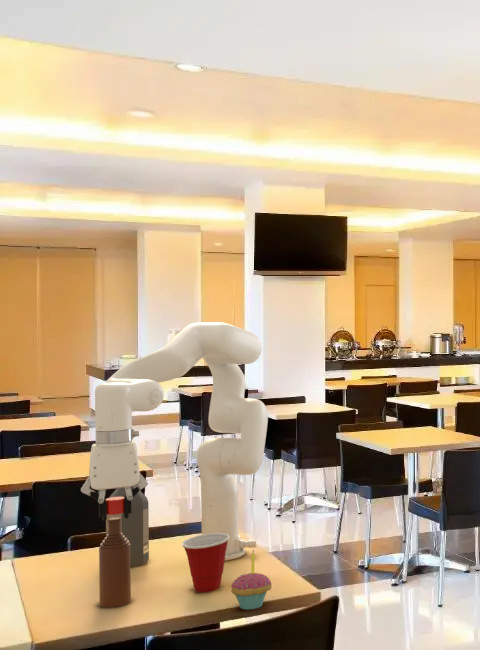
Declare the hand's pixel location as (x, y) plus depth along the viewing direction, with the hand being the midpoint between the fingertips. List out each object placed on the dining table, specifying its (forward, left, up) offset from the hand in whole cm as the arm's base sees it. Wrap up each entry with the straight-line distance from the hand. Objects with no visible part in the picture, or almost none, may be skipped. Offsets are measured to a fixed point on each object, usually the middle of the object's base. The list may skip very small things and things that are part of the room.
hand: (115, 517), depth 197 cm
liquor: (+3, -33, -19) cm, 38 cm away
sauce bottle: (0, 0, -19) cm, 19 cm away
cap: (0, 0, +1) cm, 1 cm away
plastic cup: (-19, -5, -19) cm, 27 cm away
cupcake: (-30, +11, -19) cm, 37 cm away
